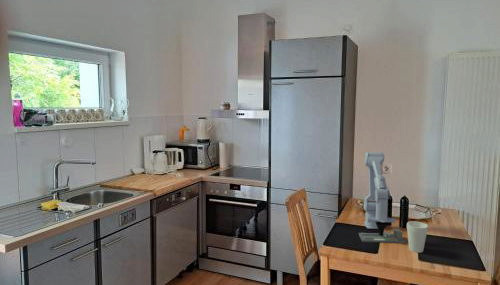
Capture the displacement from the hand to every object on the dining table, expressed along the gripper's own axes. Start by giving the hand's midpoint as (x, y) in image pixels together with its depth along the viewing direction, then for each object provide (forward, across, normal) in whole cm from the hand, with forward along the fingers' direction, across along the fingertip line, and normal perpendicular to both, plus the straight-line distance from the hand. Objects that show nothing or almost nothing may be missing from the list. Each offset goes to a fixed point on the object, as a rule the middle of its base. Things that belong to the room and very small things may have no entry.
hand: (380, 235), depth 186 cm
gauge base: (+2, 0, 0) cm, 2 cm away
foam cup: (+2, +14, -13) cm, 19 cm away
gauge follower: (+1, +3, -1) cm, 3 cm away
